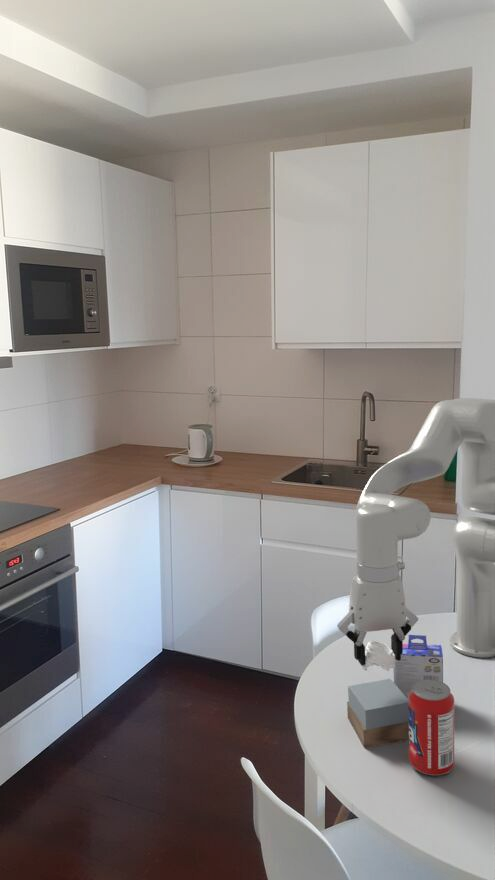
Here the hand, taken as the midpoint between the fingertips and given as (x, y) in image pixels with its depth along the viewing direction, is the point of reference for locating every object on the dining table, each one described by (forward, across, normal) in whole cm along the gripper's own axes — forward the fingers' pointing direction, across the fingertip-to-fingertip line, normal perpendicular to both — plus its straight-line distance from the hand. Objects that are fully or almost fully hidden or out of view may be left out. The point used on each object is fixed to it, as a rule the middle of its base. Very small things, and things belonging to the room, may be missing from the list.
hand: (378, 658), depth 134 cm
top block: (+11, 0, 0) cm, 11 cm away
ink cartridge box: (+15, -11, -6) cm, 20 cm away
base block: (+15, 0, 0) cm, 15 cm away
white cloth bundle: (+1, 0, 0) cm, 1 cm away
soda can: (+15, -5, +12) cm, 20 cm away
